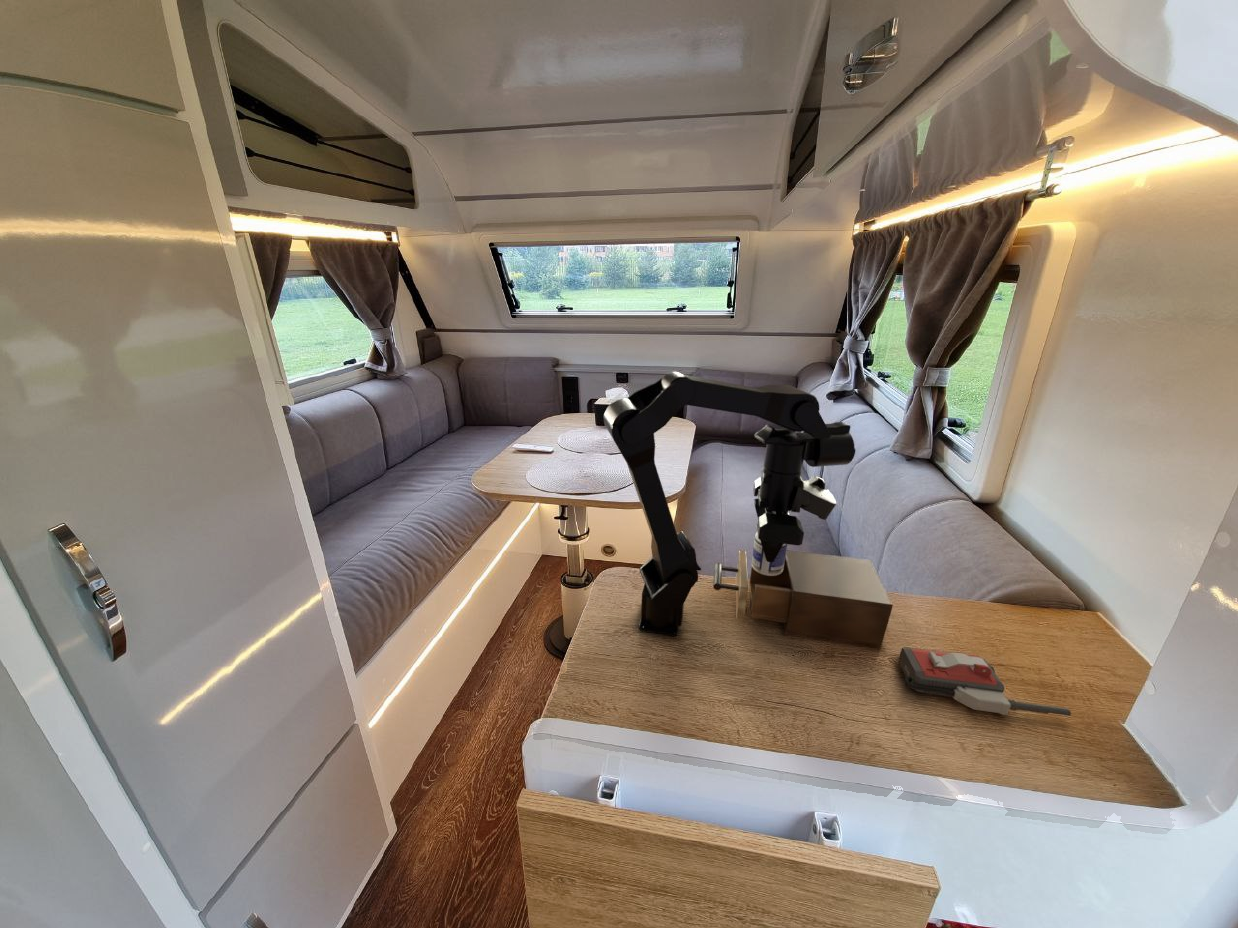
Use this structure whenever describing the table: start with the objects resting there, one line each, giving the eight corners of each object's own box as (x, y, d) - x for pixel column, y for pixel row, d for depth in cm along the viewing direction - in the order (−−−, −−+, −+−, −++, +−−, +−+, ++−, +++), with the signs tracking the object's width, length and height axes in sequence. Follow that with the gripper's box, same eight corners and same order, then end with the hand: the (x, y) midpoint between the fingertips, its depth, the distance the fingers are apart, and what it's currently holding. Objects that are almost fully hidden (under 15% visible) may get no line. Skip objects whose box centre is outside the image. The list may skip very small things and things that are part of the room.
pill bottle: (784, 563, 82) (792, 518, 79) (781, 579, 78) (789, 532, 75) (753, 556, 84) (760, 512, 81) (748, 571, 80) (755, 525, 77)
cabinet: (785, 633, 78) (793, 591, 75) (778, 588, 90) (784, 549, 87) (880, 648, 76) (893, 604, 72) (860, 599, 87) (870, 559, 84)
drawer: (710, 615, 81) (714, 582, 78) (712, 577, 91) (715, 546, 89) (820, 632, 78) (827, 598, 75) (809, 590, 88) (816, 559, 85)
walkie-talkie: (909, 704, 66) (1072, 726, 63) (917, 680, 64) (1084, 702, 61) (887, 657, 74) (1030, 675, 71) (894, 635, 72) (1040, 652, 69)
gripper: (851, 498, 64) (829, 593, 70) (826, 452, 81) (810, 531, 87) (766, 489, 66) (752, 582, 72) (759, 446, 83) (748, 524, 89)
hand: (768, 552), depth 80 cm, fingers closed on pill bottle, 5 cm apart
